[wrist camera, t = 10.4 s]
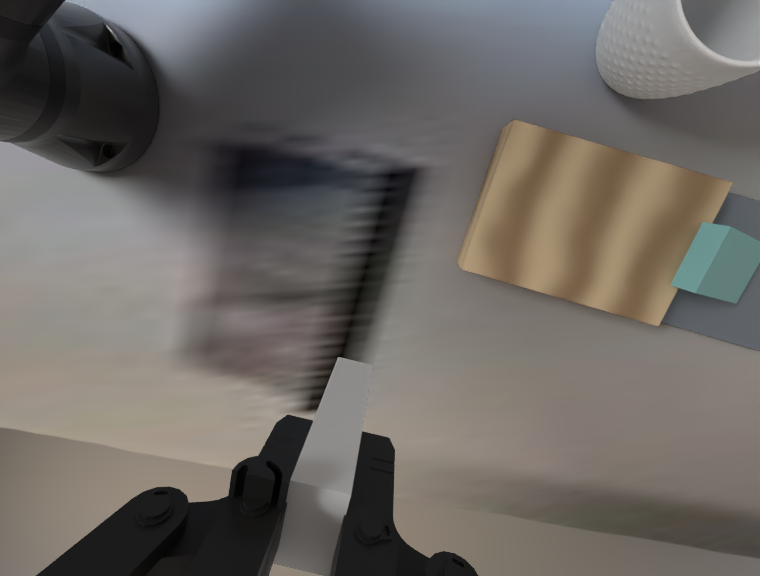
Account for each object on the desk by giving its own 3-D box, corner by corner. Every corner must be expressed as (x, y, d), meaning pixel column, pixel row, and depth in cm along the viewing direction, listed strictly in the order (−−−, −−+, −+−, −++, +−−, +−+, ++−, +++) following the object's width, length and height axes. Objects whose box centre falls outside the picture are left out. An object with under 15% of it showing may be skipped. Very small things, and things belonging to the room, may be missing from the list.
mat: (633, 313, 38) (635, 314, 38) (697, 184, 35) (700, 184, 35) (757, 349, 38) (760, 351, 38) (834, 224, 35) (839, 224, 34)
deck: (456, 262, 39) (461, 269, 35) (502, 128, 35) (513, 119, 31) (633, 313, 38) (658, 326, 35) (697, 184, 35) (733, 182, 31)
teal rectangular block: (670, 285, 33) (695, 293, 31) (702, 222, 31) (730, 226, 30) (712, 296, 37) (736, 303, 35) (742, 241, 35) (769, 246, 34)
